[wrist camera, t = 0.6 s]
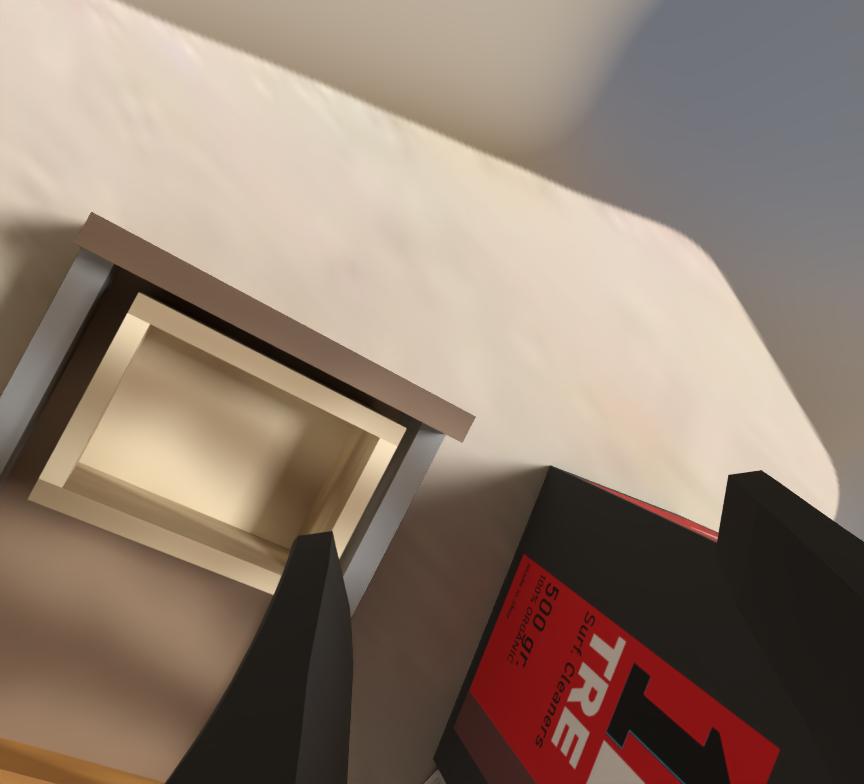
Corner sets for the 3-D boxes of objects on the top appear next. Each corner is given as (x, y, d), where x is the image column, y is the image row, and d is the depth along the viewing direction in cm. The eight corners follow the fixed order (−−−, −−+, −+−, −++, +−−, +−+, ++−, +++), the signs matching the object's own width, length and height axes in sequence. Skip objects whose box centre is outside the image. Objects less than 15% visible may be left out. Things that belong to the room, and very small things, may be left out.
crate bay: (217, 808, 35) (224, 906, 29) (-152, 707, 30) (-231, 804, 24) (429, 397, 36) (475, 416, 30) (108, 227, 31) (91, 211, 25)
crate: (294, 565, 34) (312, 610, 29) (51, 467, 30) (27, 499, 25) (375, 410, 34) (406, 428, 29) (145, 292, 30) (138, 292, 25)
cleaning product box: (550, 465, 39) (899, 628, 20) (679, 515, 42) (1088, 697, 23) (432, 759, 39) (670, 1202, 20) (570, 787, 42) (890, 1195, 23)
